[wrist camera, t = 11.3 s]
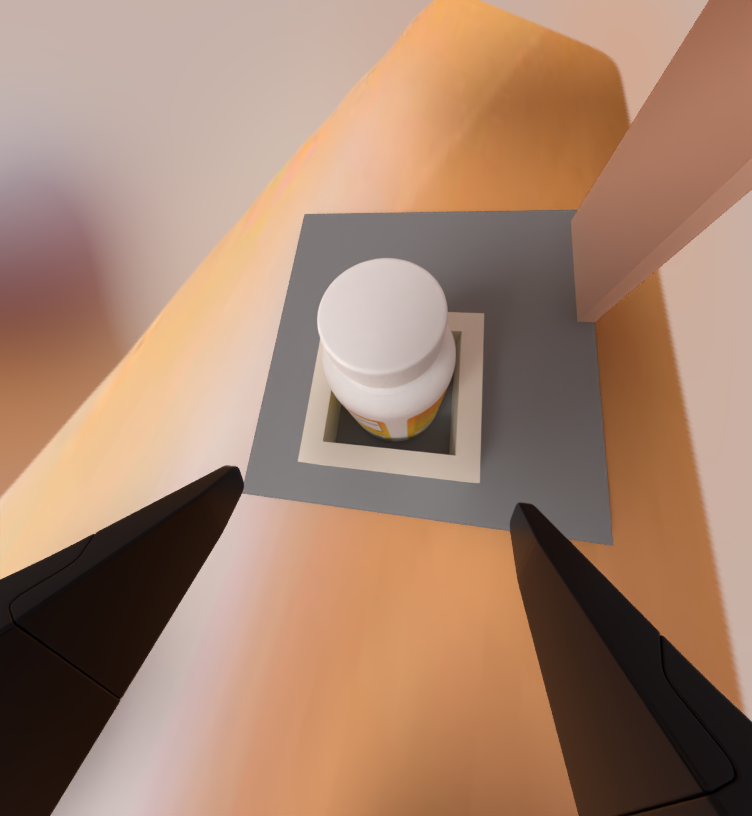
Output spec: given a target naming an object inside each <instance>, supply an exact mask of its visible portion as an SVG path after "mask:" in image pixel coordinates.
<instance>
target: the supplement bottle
mask: <svg viewBox="0 0 752 816" xmlns="http://www.w3.org/2000/svg"><path fill="white" fill-rule="evenodd" d="M447 319H448V307H447V302H446V298H445V295H444V292H443V290H442V288H441V286H440V285H439V283H438V282H437V280H436V279H435V278H434V277H433V276H432V275H431V274H430V273H429V272H428V271H426V270H425V269H423V268H422V267H420V266H418V265H416V264H414V263H412V262H409V261H406V260H401V259H395V258H379V259H373V260H369V261H365V262H362V263H359V264H357V265H355V266H353V267H351V268H349V269H347V270H346V271H344V272H343V273H342V274H340V275H339V276H338V277H337V278H336V279H335V280H334V281H333V282H332V283H331V284H330V286H329V287H328V288H327V290H326V292H325V293H324V295H323V297H322V299H321V302H320V305H319V309H318V315H317V326H318V332H319V336H320V338H321V341H322V344H323V350H322V365H323V371H324V375H325V378H326V380H327V382H328V385H329V387H330V388H331V390H332V392H333V393H334V395H335V396H336V398H337V399H338V400H339V401H340V403H341V404H342V405H343V406H344V407H345V408H346V409H347V410H348V411H349V413H350V414H351V415H352V416H353V417H354V418H355V419H356V420H357V422H358V423H359V424H360V425H361V426H362V427H363V428H364V429H365V430H366V431H367V432H369V433H370V434H371V435H373V436H375V437H377V438H379V439H382V440H386V441H393V442H398V441H405V440H409V439H411V438H414V437H416V436H418V435H419V434H421V433H422V432H423V431H424V430H426V429H427V428H428V427H429V425H430V424H431V423H432V421H433V420H434V418H435V416H436V414H437V412H438V409H439V406H440V404H441V402H442V399H443V397H444V395H445V392H446V390H447V388H448V386H449V383H450V381H451V378H452V375H453V371H454V367H455V360H456V348H455V342H454V338H453V335H452V332H451V330H450V328H449V326H448V324H447Z"/></svg>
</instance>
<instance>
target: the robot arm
mask: <svg viewBox="0 0 752 816" xmlns="http://www.w3.org/2000/svg"><path fill="white" fill-rule="evenodd" d="M243 490H244V482H243V479H242V476H241V472H240V470H239V468H238V467H236V466H229V465H226V466H223V467H221V468H219V469H217V470H215V471H214V472H212V473H210V474H208V475H206V476H204V477H202V478H200V479H198V480H196V481H194V482H192V483H190V484H189V485H187V486H185V487H183V488H181V489H179V490H177V491H175V492H173V493H171V494H169V495H167V496H165V497H164V498H162V499H160V500H158V501H156V502H154V503H152V504H150V505H148V506H146V507H144V508H142V509H140V510H139V511H137V512H135V513H133V514H131V515H129V516H127V517H125V518H123V519H121V520H119V521H117V522H115V523H113V524H112V525H110V526H108V527H106V528H104V529H102V530H100V531H98V532H97V533H96V534H92V535H90V536H88V537H86V538H85V539H83V540H81V541H79V542H77V543H75V544H73V545H71V546H69V547H67V548H65V549H63V550H61V551H59V552H57V553H55V554H53V555H51V556H49V557H47V558H45V559H43V560H41V561H39V562H37V563H35V564H32V565H30V566H28V567H26V568H24V569H22V570H20V571H18V572H16V573H13V574H11V575H9V576H7V577H5V578H3V579H1V580H0V816H50V815H51V814H52V812H53V810H54V809H55V807H56V805H57V804H58V802H59V800H60V799H61V797H62V796H63V794H64V792H65V791H66V789H67V787H68V786H69V784H70V782H71V781H72V779H73V777H74V776H75V774H76V773H77V771H78V769H79V768H80V766H81V764H82V763H83V761H84V759H85V758H86V756H87V755H88V753H89V751H90V750H91V748H92V746H93V745H94V743H95V741H96V740H97V738H98V737H99V735H100V733H101V732H102V730H103V728H104V727H105V725H106V723H107V722H108V720H109V718H110V717H111V715H112V714H113V712H114V710H115V709H116V707H117V705H118V704H119V702H120V699H121V698H122V697H123V695H124V694H125V692H126V690H127V689H128V687H129V685H130V684H131V682H132V680H133V679H134V677H135V676H136V674H137V672H138V671H139V669H140V667H141V666H142V664H143V662H144V661H145V659H146V658H147V656H148V654H149V653H150V651H151V649H152V648H153V646H154V644H155V643H156V641H157V639H158V638H159V636H160V635H161V633H162V631H163V630H164V628H165V626H166V625H167V623H168V621H169V620H170V618H171V617H172V615H173V613H174V612H175V610H176V608H177V607H178V605H179V603H180V602H181V600H182V599H183V597H184V595H185V594H186V592H187V590H188V589H189V587H190V585H191V584H192V582H193V580H194V579H195V577H196V576H197V574H198V572H199V571H200V569H201V567H202V566H203V564H204V562H205V561H206V559H207V558H208V556H209V554H210V553H211V551H212V549H213V548H214V546H215V544H216V543H217V541H218V540H219V538H220V536H221V534H222V533H223V531H224V529H225V527H226V525H227V523H228V521H229V519H230V517H231V515H232V513H233V511H234V509H235V507H236V504H237V502H238V500H239V498H240V496H241V494H242V492H243ZM510 533H511V540H512V546H513V553H514V560H515V566H516V573H517V579H518V584H519V588H520V592H521V596H522V600H523V604H524V607H525V611H526V615H527V619H528V623H529V627H530V630H531V634H532V638H533V642H534V646H535V650H536V653H537V657H538V661H539V665H540V669H541V673H542V676H543V680H544V684H545V688H546V692H547V696H548V699H549V703H550V707H551V711H552V715H553V719H554V722H555V726H556V730H557V734H558V738H559V742H560V745H561V749H562V753H563V757H564V761H565V765H566V768H567V772H568V776H569V780H570V784H571V788H572V791H573V795H574V799H575V803H576V807H577V811H578V814H579V816H752V722H751V721H750V720H749V719H748V718H747V717H746V716H745V715H744V714H743V713H742V712H741V711H740V710H739V709H738V708H737V707H735V706H734V705H733V704H732V703H731V702H730V701H729V700H728V699H727V698H726V697H725V696H724V695H723V694H722V693H721V692H720V691H718V690H717V689H716V688H715V687H714V686H713V685H712V684H711V683H710V682H709V681H708V680H707V679H706V678H705V677H704V676H703V675H702V674H701V673H700V672H699V671H698V670H697V669H696V668H695V667H694V666H693V665H692V664H691V663H690V662H689V661H688V660H687V659H686V658H685V657H684V656H683V655H682V654H681V653H680V652H679V651H678V650H677V649H676V648H675V647H674V646H673V645H672V644H671V643H670V642H669V641H668V640H667V639H666V638H665V637H664V636H662V635H660V633H659V631H658V630H657V629H656V628H655V627H654V626H653V625H652V624H651V623H650V622H649V621H648V620H647V619H646V618H645V617H644V616H643V615H642V614H641V613H640V612H639V611H638V610H637V609H636V608H635V607H634V606H633V605H632V604H631V603H630V602H629V601H628V600H627V599H626V598H625V597H624V596H623V595H622V594H621V593H620V592H619V590H618V589H617V588H616V587H615V586H614V585H613V584H612V583H611V582H610V581H609V580H608V579H607V578H606V577H605V576H604V575H603V574H602V573H601V572H600V571H599V570H598V569H597V568H596V567H595V566H594V565H593V564H592V563H591V562H590V561H589V560H588V559H587V558H586V557H585V556H584V555H583V554H582V553H581V552H580V551H579V550H578V549H577V548H576V547H575V546H574V545H573V544H572V543H571V542H570V541H569V540H568V539H567V538H566V537H565V536H564V535H563V534H562V533H561V532H560V531H559V530H558V529H557V528H556V527H555V526H554V525H553V524H552V523H551V522H550V521H549V520H548V519H547V518H546V517H545V516H544V515H543V514H542V513H541V511H540V510H539V509H538V508H537V507H536V506H534V505H533V504H530V503H522V502H518V503H517V504H516V506H515V509H514V511H513V514H512V517H511V519H510Z"/></svg>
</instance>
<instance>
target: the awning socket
mask: <svg viewBox="0 0 752 816" xmlns="http://www.w3.org/2000/svg"><path fill="white" fill-rule="evenodd" d="M751 190H752V0H709V1H708V3H707V5H706V6H705V8H704V9H703V11H702V12H701V14H700V16H699V17H698V19H697V20H696V22H695V23H694V25H693V27H692V29H691V30H690V31H689V33H688V35H687V36H686V38H685V39H684V41H683V43H682V45H681V46H680V47H679V49H678V51H677V52H676V54H675V56H674V57H673V59H672V60H671V62H670V64H669V65H668V67H667V68H666V70H665V71H664V73H663V75H662V76H661V78H660V80H659V81H658V83H657V84H656V86H655V87H654V89H653V91H652V92H651V94H650V95H649V97H648V99H647V100H646V102H645V104H644V105H643V107H642V108H641V110H640V111H639V113H638V115H637V116H636V118H635V119H634V121H633V123H632V124H631V126H630V127H629V129H628V131H627V132H626V134H625V135H624V137H623V139H622V140H621V142H620V143H619V145H618V147H617V148H616V150H615V151H614V153H613V155H612V156H611V158H610V159H609V161H608V163H607V164H606V166H605V167H604V169H603V171H602V172H601V174H600V175H599V177H598V178H597V180H596V182H595V183H594V185H593V186H592V188H591V190H590V191H589V193H588V194H587V196H586V198H585V199H584V201H583V202H582V204H581V206H580V207H579V209H578V210H537V211H475V212H413V213H352V214H305V215H304V219H303V224H302V228H301V232H300V237H299V241H298V246H297V250H296V255H295V259H294V263H293V268H292V272H291V277H290V281H289V286H288V290H287V294H286V299H285V303H284V308H283V312H282V317H281V321H280V325H279V330H278V334H277V339H276V343H275V348H274V352H273V357H272V361H271V365H270V370H269V374H268V379H267V383H266V388H265V392H264V396H263V401H262V405H261V410H260V414H259V419H258V423H257V427H256V432H255V436H254V441H253V445H252V450H251V454H250V458H249V463H248V467H247V472H246V476H245V481H244V490H243V492H242V493H243V494H250V495H257V496H264V497H271V498H279V499H286V500H293V501H300V502H307V503H314V504H321V505H328V506H335V507H343V508H350V509H357V510H364V511H371V512H378V513H385V514H392V515H399V516H406V517H414V518H421V519H428V520H435V521H442V522H449V523H456V524H463V525H470V526H478V527H485V528H492V529H499V530H506V531H510V519H511V517H512V514H513V511H514V509H515V506H516V504H517V503H518V502H522V503H530V504H533V505H534V506H536V507H537V508H538V509H539V510H540V511H541V513H542V514H543V515H544V516H545V517H546V518H547V519H548V520H549V521H550V522H551V523H552V524H553V525H554V526H555V527H556V528H557V529H558V530H559V531H560V532H561V533H562V534H563V535H564V536H565V537H566V538H567V539H570V540H577V541H584V542H591V543H598V544H605V545H613V538H612V526H611V514H610V502H609V490H608V478H607V465H606V453H605V441H604V429H603V417H602V405H601V393H600V381H599V369H598V357H597V344H596V332H595V322H596V321H597V320H598V319H599V318H601V317H602V316H603V315H604V314H605V313H606V312H608V311H609V310H610V309H611V308H612V307H614V306H615V305H616V304H617V303H618V302H619V301H621V300H622V299H623V298H624V297H625V296H627V295H628V294H629V293H630V292H631V291H632V290H634V289H635V288H636V287H637V286H638V285H640V284H641V283H642V282H643V281H644V280H645V279H647V278H648V277H649V276H650V275H651V274H653V273H654V272H655V271H656V270H657V269H658V268H660V267H661V266H662V265H663V264H664V263H665V262H667V261H668V260H669V259H670V258H671V257H672V256H674V255H675V254H676V253H677V252H678V251H680V250H681V249H682V248H683V247H684V246H686V245H687V244H688V243H689V242H690V241H691V240H693V239H694V238H695V237H696V236H697V235H699V234H700V233H701V232H702V231H703V230H704V229H706V228H707V227H708V226H709V225H710V224H712V223H713V222H714V221H715V220H716V219H717V218H718V217H720V216H721V215H722V214H723V213H724V212H726V211H727V210H728V209H729V208H730V207H732V206H733V205H734V204H735V203H736V202H738V201H739V200H740V199H741V198H742V197H743V196H744V195H746V194H747V193H748V192H749V191H751ZM379 258H395V259H401V260H406V261H409V262H412V263H414V264H416V265H418V266H420V267H422V268H423V269H425V270H426V271H428V272H429V273H430V274H431V275H432V276H433V277H434V278H435V279H436V280H437V282H438V283H439V285H440V286H441V288H442V290H443V292H444V295H445V298H446V302H447V307H448V319H447V324H448V326H449V328H450V330H451V332H452V335H453V338H454V342H455V348H456V360H455V367H454V371H453V375H452V378H451V381H450V383H449V386H448V388H447V390H446V392H445V395H444V397H443V399H442V402H441V404H440V406H439V409H438V412H437V414H436V416H435V418H434V420H433V421H432V423H431V424H430V425H429V427H428V428H427V429H426V430H424V431H423V432H422V433H421V434H419V435H418V436H416V437H414V438H411V439H409V440H405V441H398V442H393V441H386V440H382V439H379V438H377V437H375V436H373V435H371V434H370V433H369V432H367V431H366V430H365V429H364V428H363V427H362V426H361V425H360V424H359V423H358V422H357V420H356V419H355V418H354V417H353V416H352V415H351V414H350V413H349V411H348V410H347V409H346V408H345V407H344V406H343V405H342V404H341V403H340V401H339V400H338V399H337V398H336V396H335V395H334V393H333V392H332V390H331V388H330V387H329V385H328V382H327V380H326V378H325V375H324V371H323V365H322V350H323V344H322V341H321V338H320V336H319V332H318V326H317V315H318V309H319V305H320V302H321V299H322V297H323V295H324V293H325V292H326V290H327V288H328V287H329V286H330V284H331V283H332V282H333V281H334V280H335V279H336V278H337V277H338V276H339V275H340V274H342V273H343V272H344V271H346V270H347V269H349V268H351V267H353V266H355V265H357V264H359V263H362V262H365V261H369V260H373V259H379Z"/></svg>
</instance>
